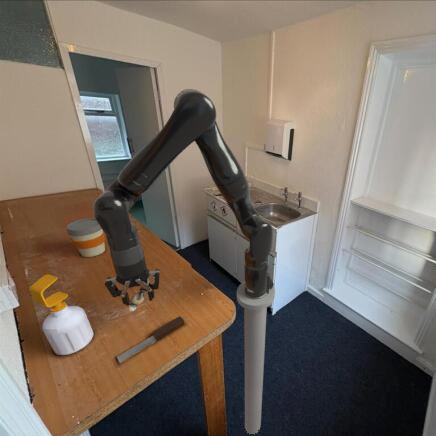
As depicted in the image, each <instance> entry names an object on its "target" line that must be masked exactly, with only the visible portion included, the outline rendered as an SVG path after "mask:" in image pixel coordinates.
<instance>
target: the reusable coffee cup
mask: <svg viewBox="0 0 436 436" xmlns="http://www.w3.org/2000/svg"><path fill="white" fill-rule="evenodd" d="M66 231H67V232H66V233H67V235H68V236H70V240H71V242H72V244H73V246H74V247H75V248H76V249H77V250H78V251H79V254H80V255H81V256H82V257H84V258H92V257H96V256H98V255H101V254H103V253H104V252H105V251H106V245H105V242H106V234H105V232H104V231H103V230H102V228H101V227H100V225H99V223H98V222H97V220H96V218H95V217H94V218H93V217H92V218H82V219H78V220H74V221H72V222H71V223H68V224H67V226H66Z"/></svg>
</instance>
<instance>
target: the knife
mask: <svg viewBox="0 0 436 436" xmlns="http://www.w3.org/2000/svg"><path fill="white" fill-rule="evenodd" d="M183 326H185V320H184V318H182V316H181V315H179V316H178V317H175V318H174V319H172V320H171V321H169V322H167V323H165V324H163V325H161V326H160V327H158V328H157V329H155V330H153V331H152V335H151V336H150V337H148V338H146V339H145V340H143V341H141V342H139V343H138V344H136V345H135V346H133V347H131V348H129V349H128V350H126V351H124V352H122V353H121V354H119V355H117V356H116V359H117V361H118V363H119V364H122V363H124V362H125V361H127V360H128V359H130V358H132V357H134V356H136V355H137V354H138V353H140V352H142V351H143V350H145V349H147V348H148V347H150V346H152V345H154V344H155V343H157V342H158V341H159V342H160V340H162V339H164V338H165V337H167V336H169V335H170V334H172V333H173V332H175V331H177V330H178V329H180V328H181V327H183Z"/></svg>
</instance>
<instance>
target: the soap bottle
mask: <svg viewBox="0 0 436 436" xmlns="http://www.w3.org/2000/svg"><path fill="white" fill-rule="evenodd" d="M57 280H58V277H57V276H55V275H53V274H52V275H51V274H49V273H46V274H44V275H43V276H42V277H40V278H39V279H38V280H37V281H36V282H34V283H33V284H32V285H30V287H29V292H30V294H31V296H32V298H33V301H34V302H35V303H36V304H38V305H41V306H44V307H46V308H49V311H50V313H51V314H49V315H48V316H47V317H46V318H45V319H44V320H43V322H42V332H43V334H44V336H45V337H46V339H47V341H48V343H49V345H50V346H51V348H52V351H54V353H55V354H56V355H60V356H67V355H71V354H74V353H77V352H79V351H81V350H82V349H83V348H85V347H87V345H89V344H90V343H91V341H92V340H93V337H94V330H93V328H92V326H91V323H90V321H89V318H88V315H87V313H86V311H85V309H83V308H82V307H81V306H79V305H68V304H67V303H66V302H65V301H64V300H66V299H67V298H68V297H69V294H68V293H65V292H63V291H56V292H55V293H53V294H51V295H49V296H48V297H46V298H45V297H44V292H45V290H46V289H48V288H49V287H50V286H51V285H52V284H54V283H55V282H56V281H57Z"/></svg>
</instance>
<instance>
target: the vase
mask: <svg viewBox="0 0 436 436" xmlns="http://www.w3.org/2000/svg"><path fill="white" fill-rule="evenodd" d="M145 293H148V291H147V290H146V289H144V288H143V287H142V286H140V288H139V291H138V292H135V293H133V295H132V296H131V298H130V304H129V312H130V313H131V312H134V311H136V310H137V307H138V306H139V305H141V304H142V303H143V302H144V300H145Z"/></svg>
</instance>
